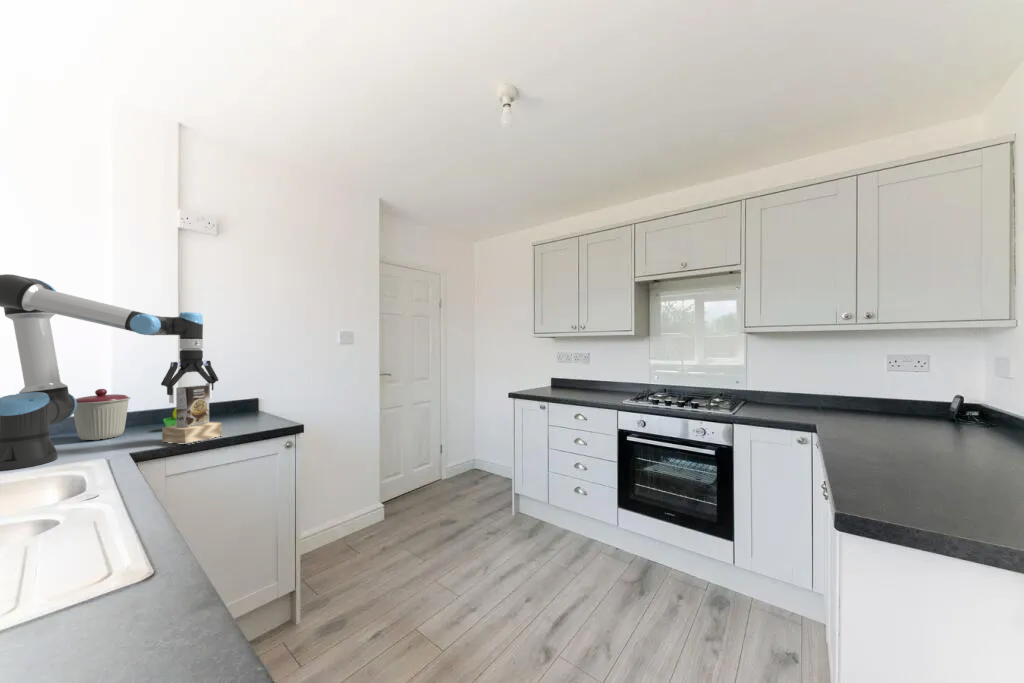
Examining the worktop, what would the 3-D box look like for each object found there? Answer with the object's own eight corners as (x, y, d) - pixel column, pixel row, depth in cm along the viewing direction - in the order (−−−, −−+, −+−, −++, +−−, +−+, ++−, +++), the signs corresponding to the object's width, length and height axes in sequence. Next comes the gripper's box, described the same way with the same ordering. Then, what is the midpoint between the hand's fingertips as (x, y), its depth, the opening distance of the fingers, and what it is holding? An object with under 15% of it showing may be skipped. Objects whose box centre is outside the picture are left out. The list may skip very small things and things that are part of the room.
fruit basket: (195, 425, 193) (194, 402, 193) (195, 428, 186) (195, 404, 186) (163, 429, 185) (163, 405, 185) (163, 432, 178) (162, 407, 178)
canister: (142, 433, 177) (141, 386, 177) (96, 443, 159) (95, 391, 159) (106, 432, 179) (105, 386, 179) (57, 443, 161) (56, 391, 161)
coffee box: (188, 427, 159) (187, 387, 159) (175, 427, 161) (175, 387, 161) (210, 422, 168) (209, 385, 168) (198, 422, 170) (197, 384, 170)
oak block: (185, 445, 155) (184, 429, 155) (162, 442, 160) (162, 427, 160) (221, 436, 169) (221, 422, 169) (199, 434, 173) (199, 420, 173)
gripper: (161, 350, 151) (161, 405, 151) (228, 349, 175) (228, 397, 175) (149, 350, 154) (149, 404, 154) (216, 349, 177) (216, 396, 177)
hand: (191, 400), depth 164 cm, fingers open, 13 cm apart
